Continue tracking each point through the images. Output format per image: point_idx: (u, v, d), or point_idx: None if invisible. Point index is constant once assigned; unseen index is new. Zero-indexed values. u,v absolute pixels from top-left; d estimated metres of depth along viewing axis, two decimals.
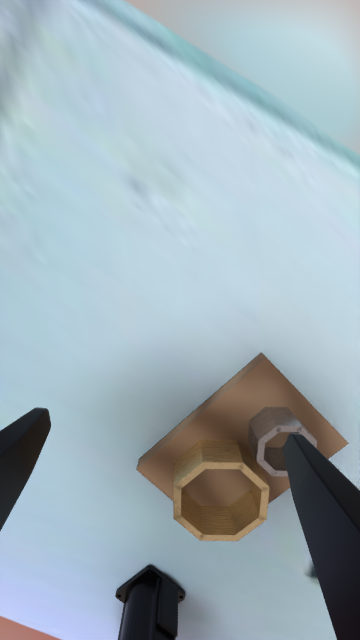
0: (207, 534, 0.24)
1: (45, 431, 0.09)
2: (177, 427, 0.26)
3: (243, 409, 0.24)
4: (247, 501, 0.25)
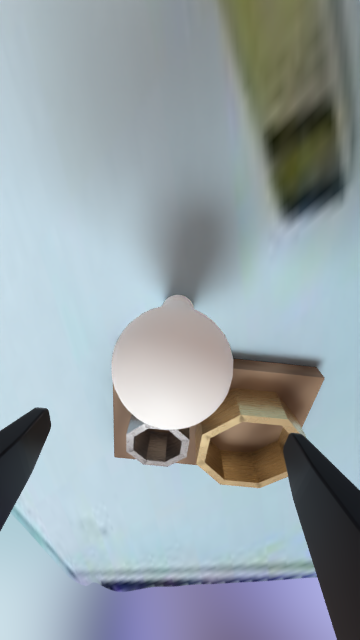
0: None
1: (45, 431, 0.09)
2: None
3: None
4: None
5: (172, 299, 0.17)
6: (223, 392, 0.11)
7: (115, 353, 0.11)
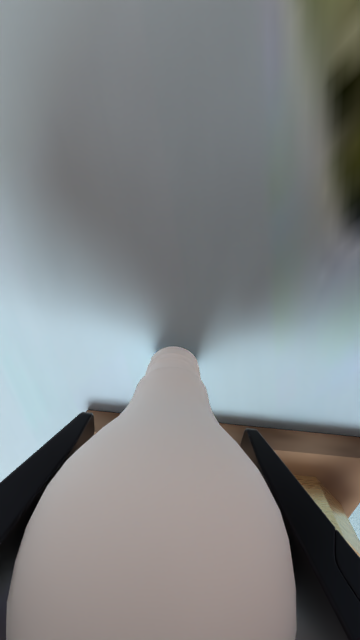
0: None
1: (91, 435, 0.09)
2: None
3: None
4: None
5: (164, 358, 0.11)
6: None
7: (13, 572, 0.05)
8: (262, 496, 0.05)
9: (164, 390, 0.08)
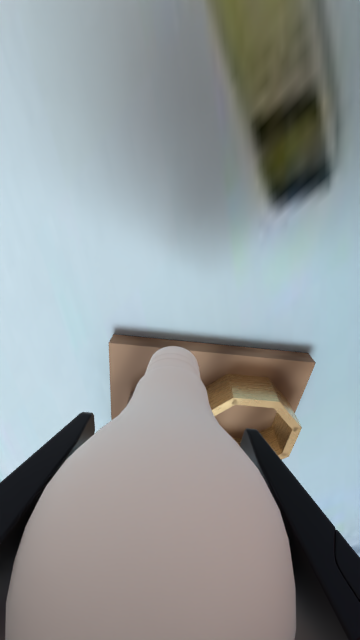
0: (290, 426, 0.20)
1: (91, 435, 0.09)
2: None
3: None
4: None
5: (164, 358, 0.11)
6: None
7: (13, 571, 0.05)
8: (262, 495, 0.05)
9: (164, 390, 0.08)
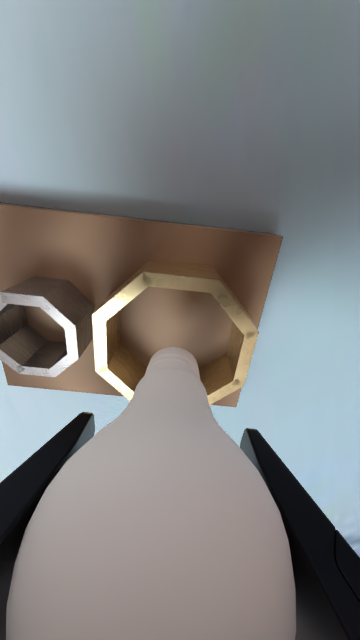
0: (240, 330, 0.13)
1: (91, 436, 0.09)
2: None
3: (71, 364, 0.18)
4: None
5: (164, 359, 0.11)
6: None
7: (13, 574, 0.05)
8: (261, 497, 0.05)
9: (163, 391, 0.08)
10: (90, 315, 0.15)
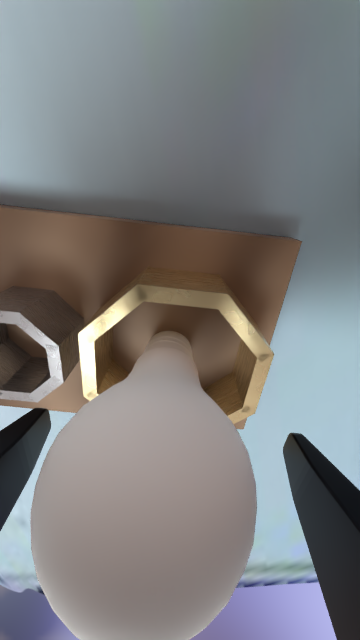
0: (252, 351, 0.11)
1: (45, 431, 0.09)
2: None
3: None
4: None
5: (159, 340, 0.12)
6: (241, 576, 0.05)
7: (35, 490, 0.06)
8: (229, 435, 0.06)
9: (157, 364, 0.10)
10: (78, 330, 0.13)
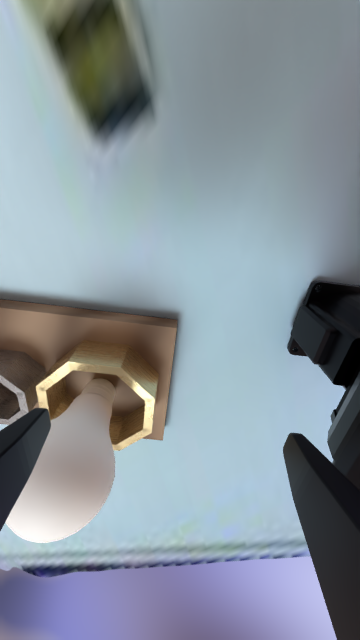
0: (141, 397, 0.18)
1: (45, 431, 0.09)
2: None
3: None
4: None
5: (90, 386, 0.19)
6: (89, 511, 0.13)
7: None
8: (93, 450, 0.13)
9: (78, 407, 0.17)
10: (41, 377, 0.20)
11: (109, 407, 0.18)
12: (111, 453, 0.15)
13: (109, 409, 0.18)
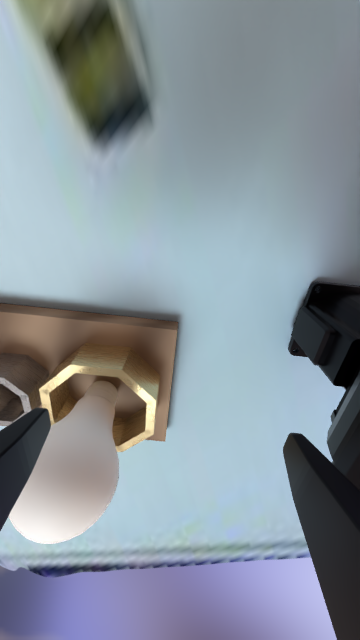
0: (143, 399, 0.18)
1: (45, 431, 0.09)
2: None
3: None
4: None
5: (92, 389, 0.20)
6: (95, 512, 0.13)
7: None
8: (98, 452, 0.14)
9: (81, 409, 0.17)
10: (44, 380, 0.21)
11: (112, 409, 0.19)
12: (115, 455, 0.15)
13: (112, 411, 0.19)
